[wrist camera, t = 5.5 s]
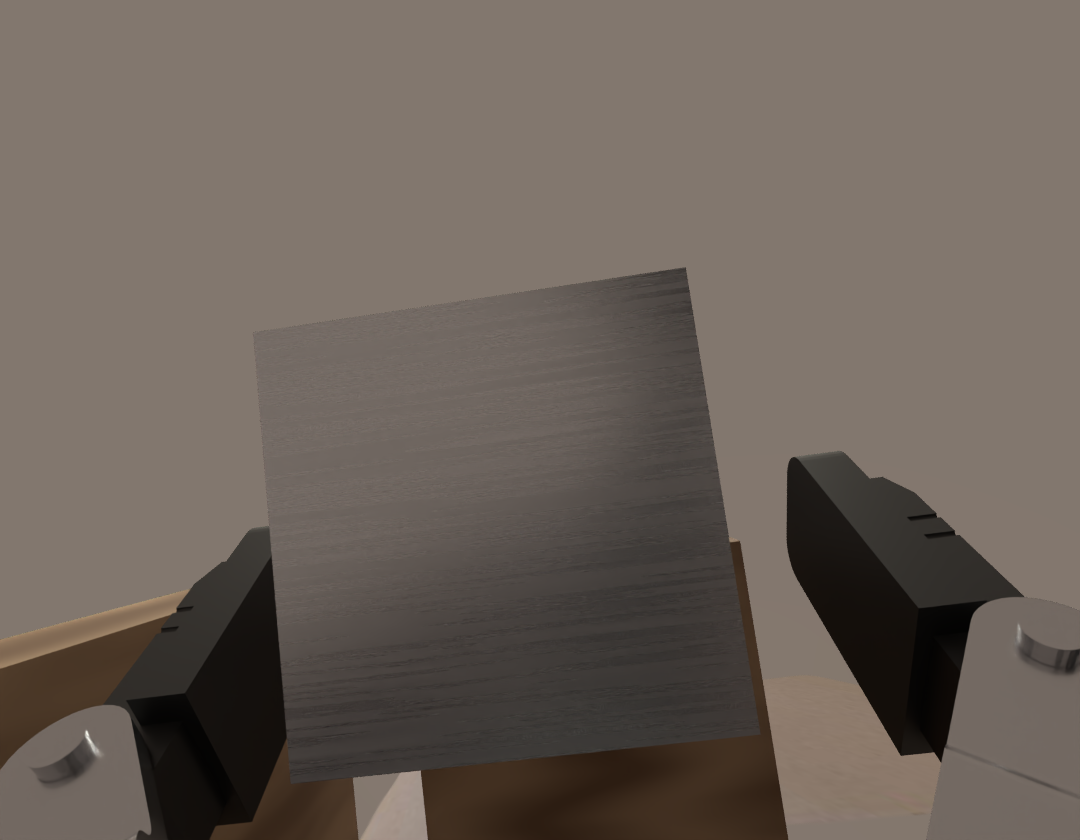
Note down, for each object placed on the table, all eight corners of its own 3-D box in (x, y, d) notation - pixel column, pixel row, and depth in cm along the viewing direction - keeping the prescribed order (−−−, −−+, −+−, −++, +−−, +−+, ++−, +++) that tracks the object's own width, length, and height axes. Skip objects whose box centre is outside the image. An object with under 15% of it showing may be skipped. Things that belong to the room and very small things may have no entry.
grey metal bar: (537, 532, 30) (524, 422, 30) (614, 522, 30) (598, 412, 30) (290, 784, 5) (238, 152, 5) (761, 734, 5) (655, 81, 5)
